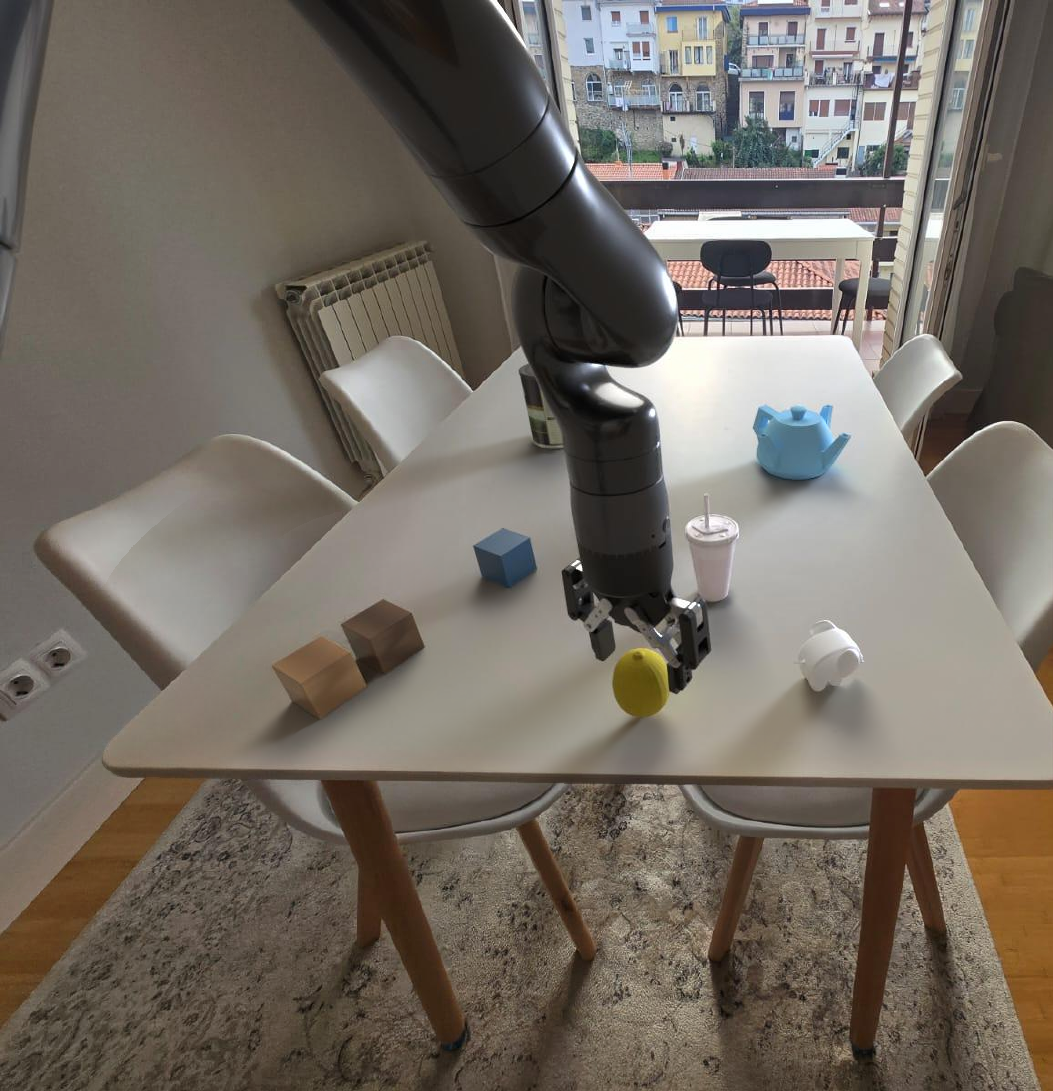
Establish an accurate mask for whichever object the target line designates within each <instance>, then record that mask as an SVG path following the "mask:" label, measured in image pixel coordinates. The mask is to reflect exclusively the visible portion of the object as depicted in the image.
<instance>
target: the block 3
mask: <svg viewBox="0 0 1053 1091" xmlns="http://www.w3.org/2000/svg"><path fill="white" fill-rule="evenodd" d="M472 548H473V551H474V554H475V558H476V561H477V564H478V568H479V572H480V575H481V578H483V579H485V580H488V581H490V582H493V583H495V584H497V585H500V586H502V587H504V588H507V589H510V588H511V587H513V586H514V585H516V584H517V583H519V582H520V581H522V580H523V579H524V578H526V577H527V576H528V575H530V574H531V573H533V572H534V571H536V570H538V567H537V563H536V558H535V553H534V549H533V545H532V540H531V537H529V536H527V535H524V534H521V533H518V532H516V531H513V530H510V529H508V528H505V527H501V529H499V530H497V531H495V532H494V533H491V534H490V535H488V536H486V537H485V538H483V539H482V540H480V541H478V542H476V543H475V544H473V545H472Z"/></svg>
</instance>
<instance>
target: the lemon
mask: <svg viewBox="0 0 1053 1091" xmlns="http://www.w3.org/2000/svg"><path fill="white" fill-rule="evenodd" d="M611 685H612V693H613V696H614V699H615V701H616V703H617V704H618V706H619V708H620V709H621V710H623V712H625V713H626V714H628V715H629V716H632V717H635V718H648V717H651V716H653V715H655V714H657V713H659V712H661V710H663V708H664V707H665V705H666V704H667V702H668V700H669V698H670V694H671V692H670V691H669V685H668V674H667V663H666V661H665V660H664V659H663V657H662V656H661V655H660V654H659V653H658V652H657V651H655V650H653V649H649V648H643V647H637V648H633V649H631V650H628V651H626V652H625V653H624V654H623V655H622V656H621V657H620V658H619V659H618V660H617V662H616V664H615V665H614V669H613V674H612V682H611Z"/></svg>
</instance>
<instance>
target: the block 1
mask: <svg viewBox="0 0 1053 1091" xmlns="http://www.w3.org/2000/svg"><path fill="white" fill-rule="evenodd" d="M270 666H271V669H272V670H273V671H274V673H275V675H276V677H277V678H278V680H279V682H280V683H281V685H282V687H283V688H284V690H285V692H286V693H287V696H288V698H289V699H290V700H291V702H293V703H294V704H296V705H297V706H299V707H300V708H302V709H303V710H305V711H306V712H308V713H310V714H311V715H313V717H315V718H317V719H318V720H322V719H323V718H325V717H326V716H327V715H329V714H330V713H332V712H333V711H335V710H336V709H337V708H339V707H341V706H342V705H343V704H344V703H346V702H348V701H349V700H350V699H352V698H353V697H354V696H356V695H357V694H359V693H360V692H362V691H364V689H367V687H368V686H367V684H366V681H365V679H364V677H363V676H362V673H361V671H360V669H359V667H358V665H357V663H356V661H355V658H354V656H353V654H352V652H351V651H350V650H349V649H346V648H345V647H342V645H340V644H337V643H336V642H334V641H332V640H330V639H328V638H327V637H324V636H323V635H320V636H318V637H316V638H315V639H313V640H312V641H310V642H308V643H307V644H305V645H303V646H301V647H300V648H298V649H296V650H294V651H293V652H291V653H289V654H288V655H286V656H284V657H283V658H281V659H279V660H278V661H276V662H275V663H273V664H271V665H270Z"/></svg>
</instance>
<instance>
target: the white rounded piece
mask: <svg viewBox="0 0 1053 1091" xmlns="http://www.w3.org/2000/svg"><path fill="white" fill-rule="evenodd" d="M808 632H809V636H810V638H808V640H806V641H805V642H804V643H803V644H802V646H801V647H800V649H799V651H798V654H797V661H793V664H794V665H795V664H798V667H799V670H800V672H801V674H802V675H803V677H804V678H805V679H806V680H807V682H808V684H809V686H810V688H811V690H813V691H815V692H822V691H823V690H824V689H825V687H826V686H827V683H829V685H831V686H832V687H838V686H840V685H841V683H842V681H843V679H845V678H847V677H849V676H850V675H851V674H853V673H854V672H855V671H856V670H858V668H859V666H860V664H863V663H865V660H863V658H864V656H863V655H862V653H861V650H860V648H859V646H858V644H857V643H856V642H855V641H854V640H853V639H852V638H851V636H850V634H848V633H847V632H846V631H845V630H843V629H840V628H838V627H837V626H836V625H835V624H834V623H833V622H832V621H830V620H827V619H823V620H819V621H817V622H815V623H813V624H812V625H811V626H810V627H809V629H808Z"/></svg>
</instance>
